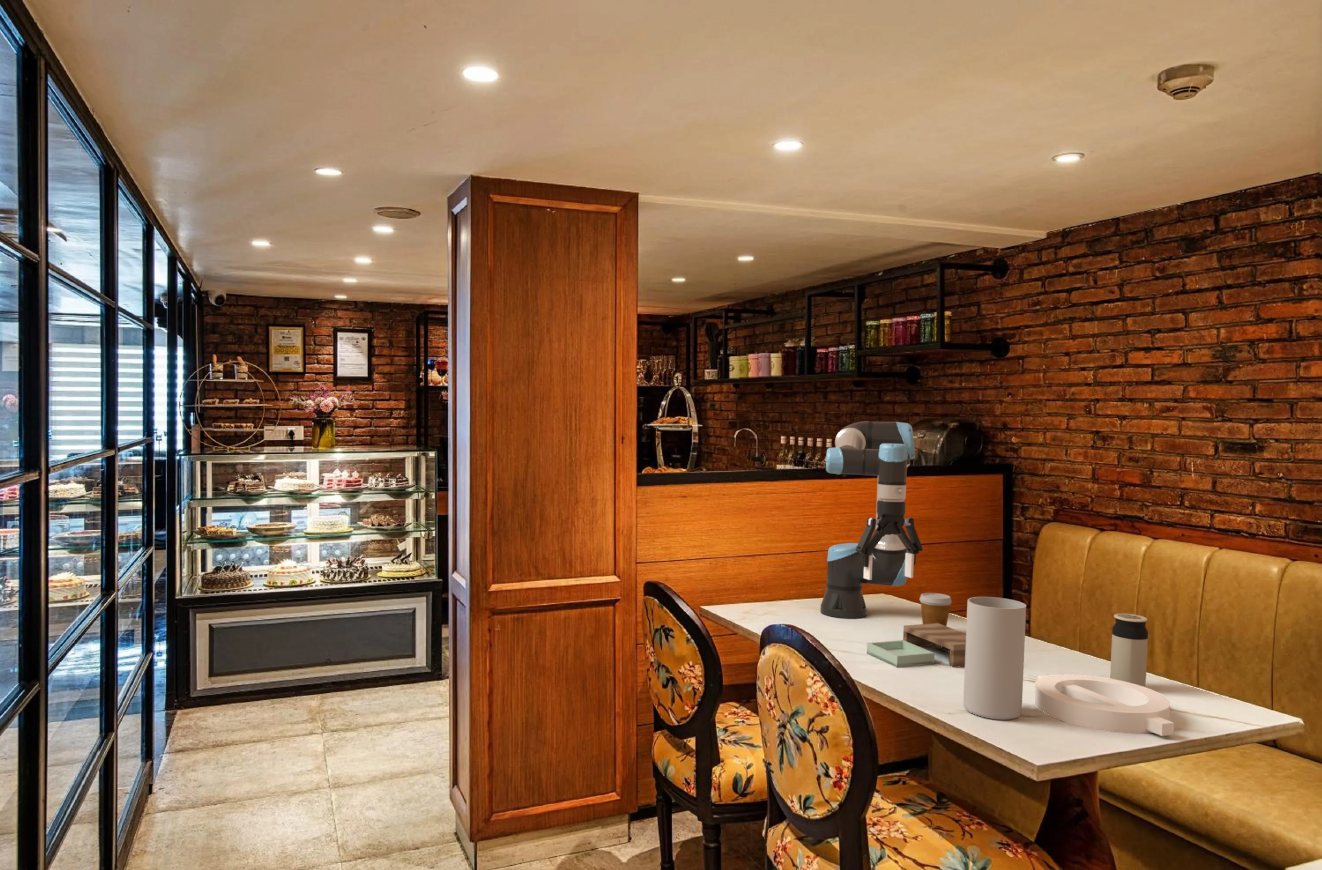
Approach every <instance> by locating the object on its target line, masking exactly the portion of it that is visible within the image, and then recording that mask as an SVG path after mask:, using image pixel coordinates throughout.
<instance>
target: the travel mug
mask: <svg viewBox="0 0 1322 870" xmlns="http://www.w3.org/2000/svg"><path fill="white" fill-rule="evenodd" d="M1113 617H1114V619H1115V623H1114V624H1113V625H1112V628H1111V629H1112V632H1111V649H1110V650H1111V651H1110V653H1111V654H1110V669H1109V670H1110V672H1109V673H1110V674H1109V676H1110V679H1115V680H1120V681H1125V682H1129V683H1133V684H1136V685H1140V686H1143V687H1146V686H1147V685H1146V684H1147V683H1146V682H1147V662H1148V661H1147V660H1148V641H1149V631H1148V629H1147V627H1146V624H1147V622H1148V618H1147V617H1145V616H1143V615H1138V614H1132V613H1131V614H1130V613H1115V614H1114V615H1113Z"/></svg>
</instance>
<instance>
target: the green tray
mask: <svg viewBox="0 0 1322 870" xmlns="http://www.w3.org/2000/svg"><path fill="white" fill-rule="evenodd" d="M866 654H867V655H869V656H871V657H873V658H876V659H878V660H880V661H882V662H885V663H886V664H888V665H891V666H893V667H894V668H906V667H908V668H909V667H918V665H919V666H928V665H935V656H936V655H935V654H936V653H935V652H934V651H931V650H928V649H926V648H924V647H922V646H916V645H914V644H911V643H909V642H907V641H904V640H903V639H899V640H897V639H896V640H886V641H875V642H874V641H872V642H867V643H866Z"/></svg>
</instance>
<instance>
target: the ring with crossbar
mask: <svg viewBox="0 0 1322 870" xmlns="http://www.w3.org/2000/svg"><path fill="white" fill-rule="evenodd" d="M1034 701H1035V703H1034V705H1035V707H1036V706H1037V707H1038V708H1039V709H1040V711H1041V710H1042V711H1044V712H1045V713H1047V714H1049V715H1050V716H1049V715H1048V716H1049V717H1051V716H1052V717H1051V718H1054V717H1055V718H1054V719H1056V718H1057V720H1059V721H1061V720H1062V721H1061V722H1064V721H1065V723H1068V724H1071V725H1075V726H1078V727H1079V726H1080V727H1082V728H1088V729H1093V730H1098V731H1103V732H1112V733H1119V734H1120V733H1122V734H1123V733H1124V734H1150V733H1154V734H1156V735H1158V736H1161V737H1164V736H1171V735H1174V730H1175V729H1174V727H1175V722H1173V721H1171V720H1170V719H1171V717H1170V716H1171V701H1170V699H1169V698H1167V697H1166V696H1165V695H1163V694H1162V693H1160V692H1158V691H1156V690H1153V689H1151V688H1149V687H1146V686H1145V687H1143V686H1140V685H1136V684H1133V683H1129V682H1125V681H1120V680H1115V679H1110V678H1109V677H1103V676H1097V675H1096V676H1094V675H1085V674H1052V675H1051V674H1040V675H1037V680H1035V683H1034ZM1037 707H1036V708H1037ZM1038 708H1037V709H1038ZM1039 709H1038V710H1039ZM1042 711H1041V712H1042ZM1044 712H1043V713H1044ZM1045 713H1044V714H1045ZM1047 714H1046V715H1047Z"/></svg>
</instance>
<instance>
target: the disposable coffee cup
mask: <svg viewBox="0 0 1322 870" xmlns="http://www.w3.org/2000/svg"><path fill="white" fill-rule="evenodd" d="M918 600H919V601H920V606H921V618H922V619H921V620H922V624H934V623H939V624H941V625H944V626H947V627H948V619H949V614H950V607H951V604H952V603H953V601H952V598H951V596H950V595H947V594H944V593H938V592H925V593H921V594H920V597H919V599H918Z"/></svg>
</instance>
